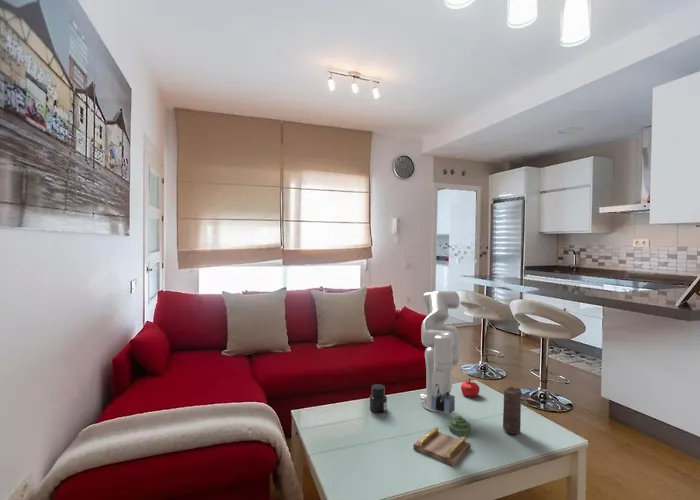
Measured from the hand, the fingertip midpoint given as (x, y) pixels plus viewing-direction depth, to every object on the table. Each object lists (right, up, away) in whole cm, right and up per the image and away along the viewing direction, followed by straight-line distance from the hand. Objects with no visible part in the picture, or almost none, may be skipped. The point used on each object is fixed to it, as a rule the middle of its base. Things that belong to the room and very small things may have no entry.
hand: (442, 407), depth 152 cm
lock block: (0, -1, 0) cm, 1 cm away
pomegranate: (+29, -16, +53) cm, 63 cm away
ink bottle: (-24, -17, +35) cm, 46 cm away
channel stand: (0, -17, 0) cm, 17 cm away
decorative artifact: (+12, -17, +15) cm, 26 cm away
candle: (+35, -17, +14) cm, 41 cm away
